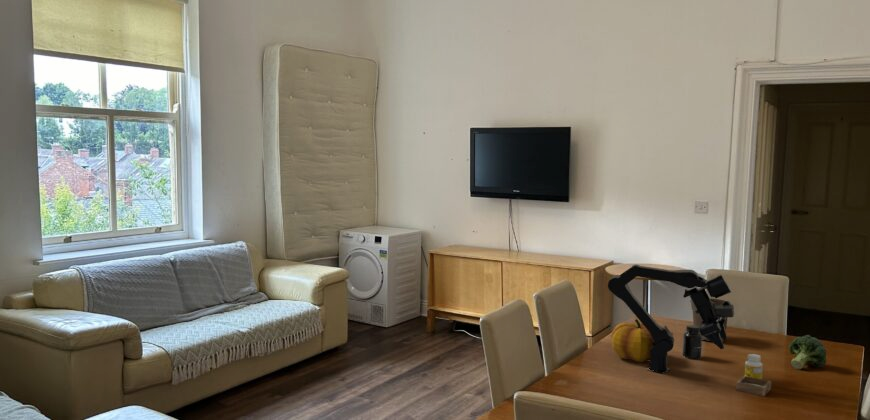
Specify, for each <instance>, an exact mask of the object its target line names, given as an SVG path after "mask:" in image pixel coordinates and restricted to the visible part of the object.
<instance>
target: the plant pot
mask: <svg viewBox="0 0 870 420" xmlns="http://www.w3.org/2000/svg"><path fill="white" fill-rule="evenodd" d="M709 298H710V297H709ZM710 300H711V302H714V303H715V304H716V306H717V305H723V303H724V301H727V299H726V300H725V299H720V298H714V297H711V298H710ZM689 302H690V304H691V305H690V306H691V310H692V321H693V325H695V326H699V327H700V328H701V326H702V325H703V324H702V322H701V321H702V319H701V317H700V315H699V313H696V308H695V306H694V304H693V302H692V300H691V299H689ZM729 302H730V304H732V302H731V301H729ZM721 318H723V317H721ZM728 319H729V317H726V319H725V322H724V327H725V332H727V324H728ZM705 324H706V323H705ZM699 333H700V332H699ZM700 334H701V333H700ZM702 340H704V341H707V342H708V341H710V340H709V339H707V338H706V337H704V336H702ZM721 340H722V342H725V341H724V340H723V339H722V338H721Z"/></svg>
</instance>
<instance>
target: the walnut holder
mask: <svg viewBox="0 0 870 420" xmlns="http://www.w3.org/2000/svg"><path fill="white" fill-rule="evenodd" d="M735 386H736V388H735V391H736V392H741V393H747V394H752V395H756V396H761V397H766V395H768V393H769V392H770V391H771V389H772V381H771V380H767V379H763V378H762V379H757V378H752V377H747V376H745V375H742V377H740V378H739V379H738V380H737V381H736V385H735Z"/></svg>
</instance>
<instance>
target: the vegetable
mask: <svg viewBox="0 0 870 420" xmlns="http://www.w3.org/2000/svg"><path fill="white" fill-rule="evenodd" d="M788 350H789V354H790V355H796V357H793V358H791V362H790V365H791V366H792V367H793V368H794V369H795V370H802V369H803V368H804V365H805V366H806V365H807V366H808V365H811V364H813V366H814V367H815V368H821V367H823V366H825V364H826V363H827V348H826V347H825V346H824V343H823V342H821V341H820V340H819V339H818V338H817V337H813V336H811V335H809V334H806V335H803V336H797V337H794V339H793V340H792V341H791V343H790V344H789V346H788Z"/></svg>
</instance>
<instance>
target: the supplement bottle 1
mask: <svg viewBox="0 0 870 420" xmlns="http://www.w3.org/2000/svg"><path fill="white" fill-rule="evenodd" d="M699 332H700V327H699V326H695V325H694V324H693V325H692V324H688V325H686V329H685V332H684V333H683V335H682V336H683V337H682V356H683V357H684V356H685V357H684V358H686V357H688V358H687V359H690V358H693V359H692V360H698V358H699V359H701V358H702V348H703V346H702V345H703V341H702V335H701V334H700V333H699Z"/></svg>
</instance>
